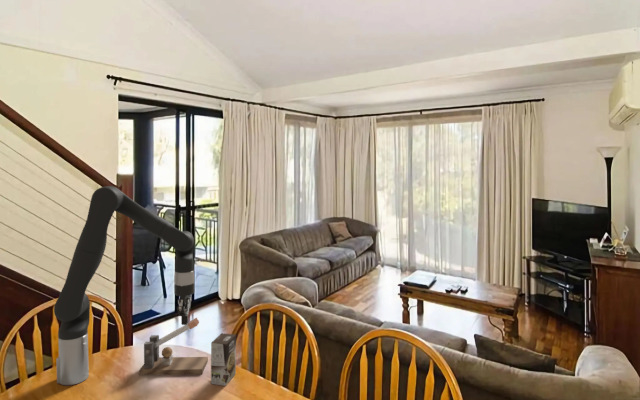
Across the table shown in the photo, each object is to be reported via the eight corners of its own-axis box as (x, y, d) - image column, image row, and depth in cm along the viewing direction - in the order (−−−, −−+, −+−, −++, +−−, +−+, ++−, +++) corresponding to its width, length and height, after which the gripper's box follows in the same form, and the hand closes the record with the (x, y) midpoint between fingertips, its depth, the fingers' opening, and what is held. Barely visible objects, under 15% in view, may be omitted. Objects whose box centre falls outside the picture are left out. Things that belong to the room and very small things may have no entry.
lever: (149, 352, 150) (146, 347, 150) (152, 348, 153) (149, 343, 153) (197, 325, 150) (194, 321, 150) (199, 322, 154) (196, 317, 154)
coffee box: (226, 386, 141) (226, 344, 140) (210, 384, 142) (210, 342, 141) (236, 373, 150) (236, 334, 148) (221, 371, 151) (221, 332, 150)
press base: (139, 375, 147) (138, 345, 146) (148, 362, 157) (148, 334, 156) (202, 374, 149) (202, 344, 148) (207, 361, 159) (207, 333, 158)
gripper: (179, 277, 157) (180, 317, 158) (169, 286, 144) (169, 331, 145) (198, 277, 157) (198, 317, 159) (189, 286, 144) (189, 331, 145)
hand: (184, 324), depth 152 cm, fingers closed
